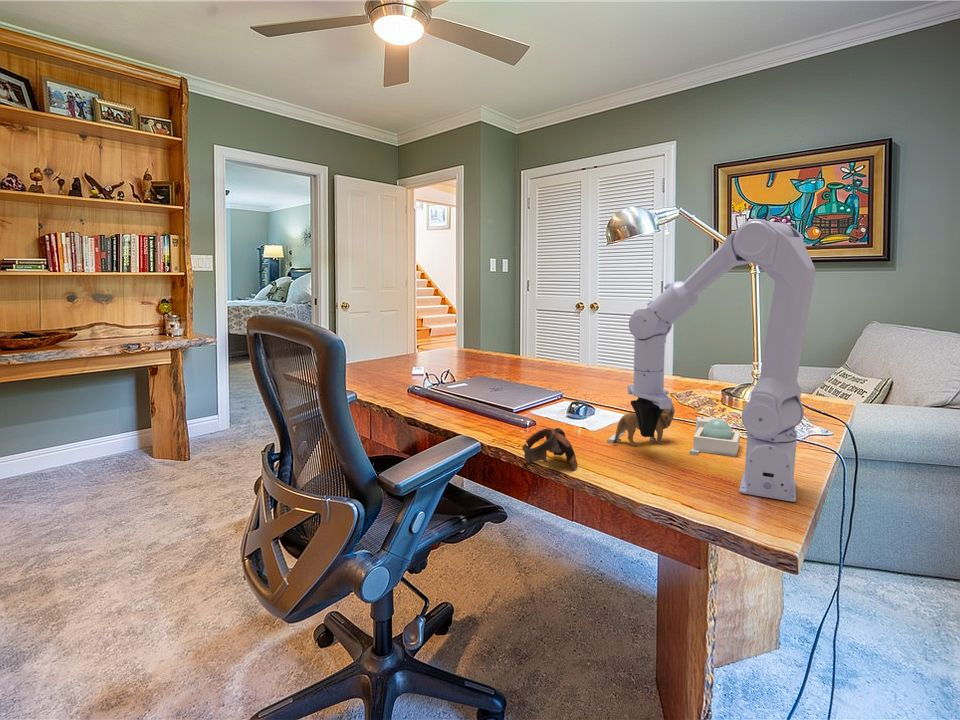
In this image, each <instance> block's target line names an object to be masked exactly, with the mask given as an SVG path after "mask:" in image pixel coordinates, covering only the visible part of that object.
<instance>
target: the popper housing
mask: <svg viewBox="0 0 960 720" xmlns="http://www.w3.org/2000/svg"><path fill="white" fill-rule="evenodd" d="M703 435H704V427H699V429H698V430H697V432H696V431H695V434H694V435H693V438H692V439H693V441H692V442H693V443H692V448H693V449H694V450H699V453H706V454H712V455H713V454H714V455H722V456H728V457H737V455H738V451H739V449H740V446H741V431H738V430H736V431H735V430H731V440H726V439H718V438H710V437H703Z"/></svg>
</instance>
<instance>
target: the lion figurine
mask: <svg viewBox="0 0 960 720" xmlns="http://www.w3.org/2000/svg"><path fill="white" fill-rule="evenodd" d="M675 412H676V411H675V407H674V404H673V402H672V407H671V409H664V411H663V412H662V414H661V416H660V418H659V420H658V423H657V426H656V429H655V431H656V434H657V437H655V435H654V436H653V437H649V440H650V441H651V442H655V441H657V443H658V444H659V445H664V444H665V442H664V441H663V440H662V439H663V435H664V430H665V429H668V428H669V427H670V426H671V424H672V422H673V418H674V416H675ZM636 430H639V431H640V429H639V424H638V420H637V416H636V413H635V412H629V413H625V414H623V415H622V416H621V418H620V419H619V421H618V424H617V427H616V432H615V433H616V435H615V439H614V441H613V442H612V443H611V444H617V443H621V442H622V439H620V438H619V436H620V434H622V433H623V432H624V431H625V432H626V431H627V433H628V434H627V435H628V436H627V440H628V442H629V443H630V444H631V446H634V447H638V446H639V445H638V444H639V443H638V442H635V441H634V435H635V432H636Z"/></svg>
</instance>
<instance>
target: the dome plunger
mask: <svg viewBox="0 0 960 720" xmlns="http://www.w3.org/2000/svg"><path fill="white" fill-rule="evenodd" d="M731 431H732V426H731V425H729V424H728V422H726V420H724V419H721V418H716V419H713V420H711V421H709V422H708V423H707V424H704V435H703V437H710V438H718V439H726V440H731Z"/></svg>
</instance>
